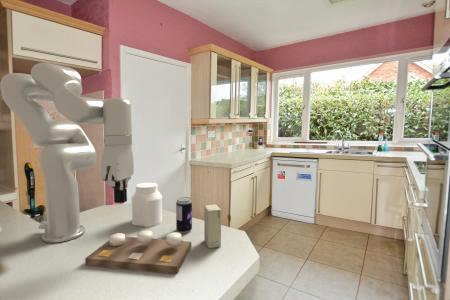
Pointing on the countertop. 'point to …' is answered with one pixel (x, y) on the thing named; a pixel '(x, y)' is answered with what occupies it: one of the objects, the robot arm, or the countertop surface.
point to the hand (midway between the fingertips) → (120, 202)
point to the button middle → (145, 236)
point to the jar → (147, 205)
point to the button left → (117, 239)
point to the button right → (173, 238)
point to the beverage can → (184, 214)
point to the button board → (141, 255)
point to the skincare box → (212, 226)
